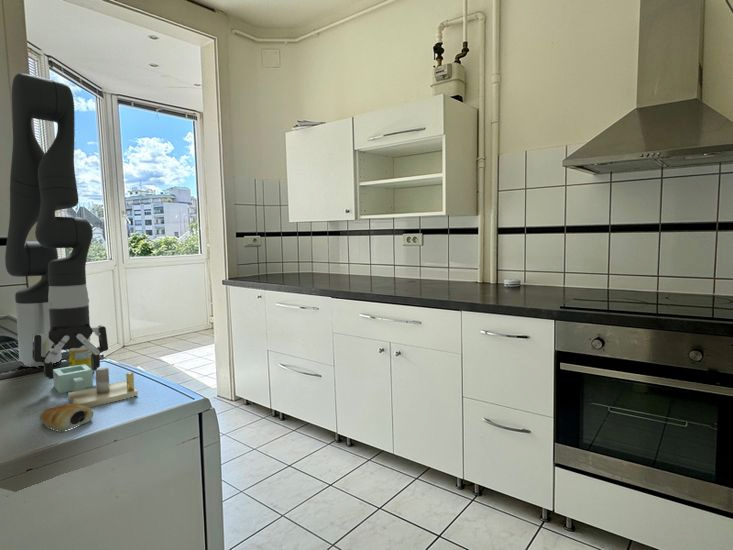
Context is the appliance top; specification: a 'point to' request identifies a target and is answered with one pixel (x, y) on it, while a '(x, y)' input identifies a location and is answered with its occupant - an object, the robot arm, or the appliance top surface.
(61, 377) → the pale green hollow block
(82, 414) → the pastry
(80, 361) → the supplement bottle
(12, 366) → the appliance top surface
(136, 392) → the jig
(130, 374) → the pin
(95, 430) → the appliance top surface
